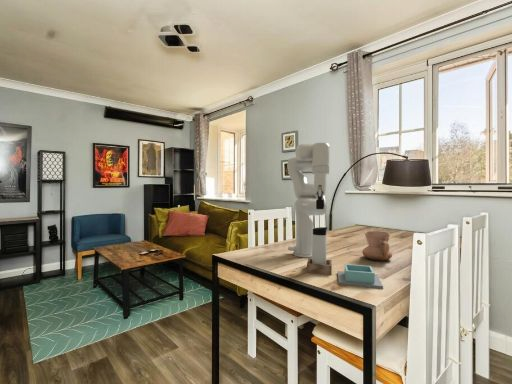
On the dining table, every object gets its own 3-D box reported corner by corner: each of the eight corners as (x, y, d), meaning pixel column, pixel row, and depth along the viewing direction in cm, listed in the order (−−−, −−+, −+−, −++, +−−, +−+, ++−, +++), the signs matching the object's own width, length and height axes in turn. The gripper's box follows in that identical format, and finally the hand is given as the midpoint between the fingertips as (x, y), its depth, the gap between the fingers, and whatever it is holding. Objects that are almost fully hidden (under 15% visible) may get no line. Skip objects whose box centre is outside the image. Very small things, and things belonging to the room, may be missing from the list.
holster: (306, 272, 122) (306, 263, 121) (308, 266, 131) (308, 258, 131) (331, 274, 119) (331, 265, 119) (331, 268, 128) (331, 259, 128)
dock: (338, 284, 107) (339, 271, 107) (337, 273, 121) (337, 262, 121) (383, 288, 103) (383, 275, 103) (376, 276, 117) (377, 265, 116)
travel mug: (324, 273, 120) (324, 228, 120) (310, 271, 124) (310, 227, 123) (328, 269, 126) (329, 226, 125) (314, 267, 129) (315, 225, 129)
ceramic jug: (356, 254, 153) (356, 229, 152) (381, 254, 154) (381, 229, 153) (372, 265, 135) (373, 236, 134) (400, 264, 136) (401, 235, 135)
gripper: (313, 171, 133) (312, 206, 133) (310, 169, 116) (310, 209, 116) (329, 171, 131) (328, 207, 131) (329, 169, 114) (328, 210, 114)
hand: (320, 208), depth 124 cm, fingers open, 9 cm apart
